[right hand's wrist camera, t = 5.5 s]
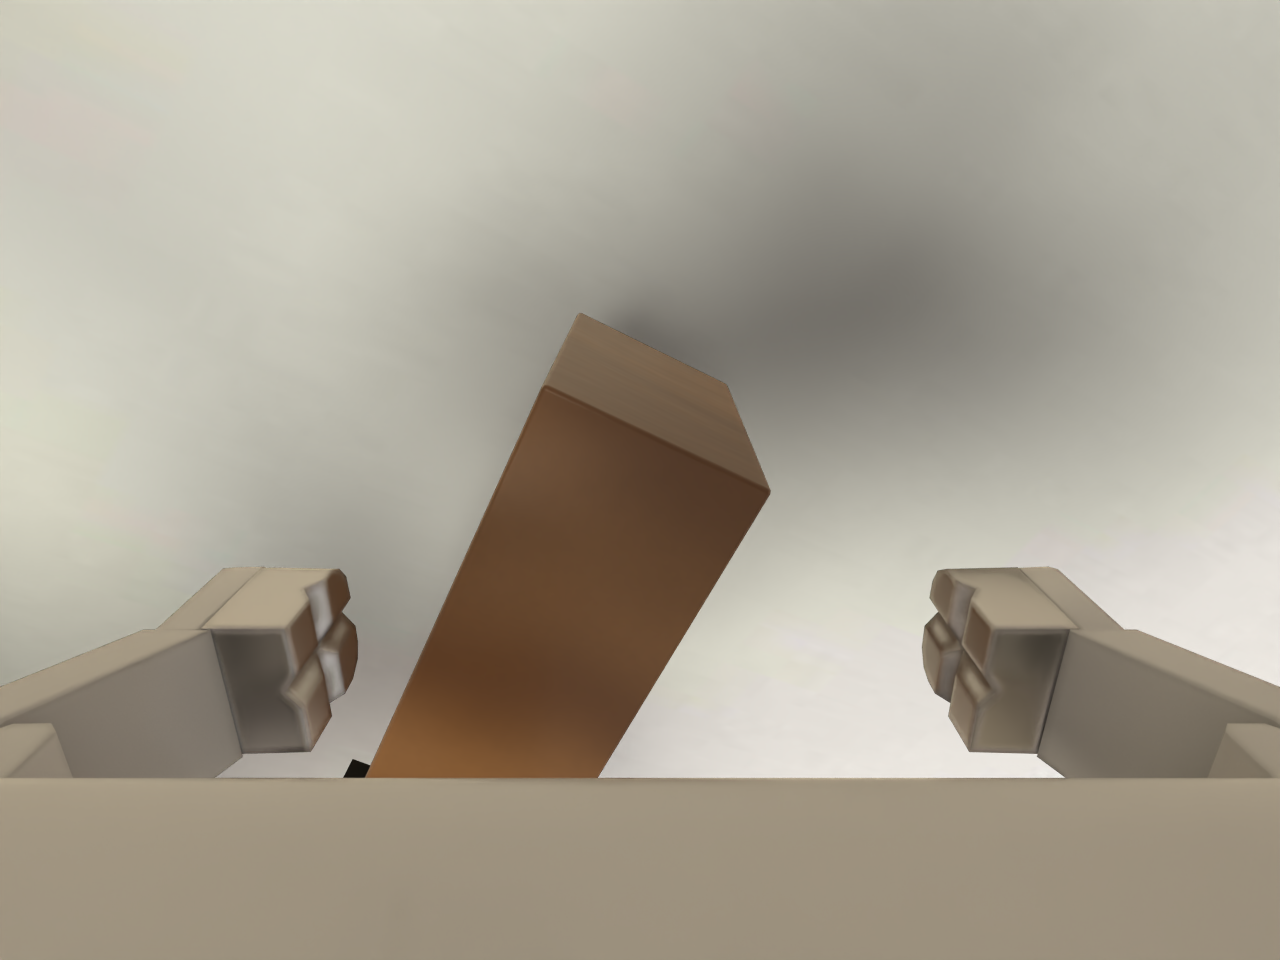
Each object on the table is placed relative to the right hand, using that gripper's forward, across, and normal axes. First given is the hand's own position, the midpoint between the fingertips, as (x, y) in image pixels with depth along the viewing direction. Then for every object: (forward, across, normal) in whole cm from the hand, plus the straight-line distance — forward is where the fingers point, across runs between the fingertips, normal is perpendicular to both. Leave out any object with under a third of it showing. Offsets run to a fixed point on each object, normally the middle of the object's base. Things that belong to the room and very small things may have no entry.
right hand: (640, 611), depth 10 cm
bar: (+12, -5, -9) cm, 16 cm away
